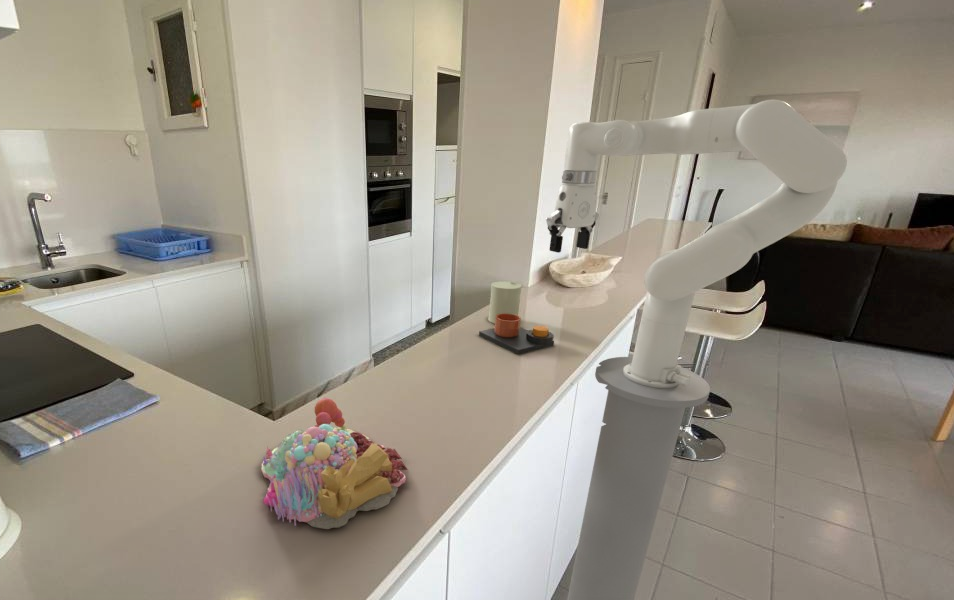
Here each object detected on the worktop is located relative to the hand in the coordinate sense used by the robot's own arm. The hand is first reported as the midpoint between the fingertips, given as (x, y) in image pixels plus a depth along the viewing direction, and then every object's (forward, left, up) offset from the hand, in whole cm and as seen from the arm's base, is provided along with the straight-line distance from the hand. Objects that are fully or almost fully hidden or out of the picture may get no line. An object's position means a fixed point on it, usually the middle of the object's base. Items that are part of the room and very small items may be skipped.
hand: (568, 249), depth 121 cm
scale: (+8, +7, -26) cm, 28 cm away
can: (+23, -2, -26) cm, 35 cm away
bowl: (+11, +8, -25) cm, 28 cm away
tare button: (+3, +3, -24) cm, 24 cm away
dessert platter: (-23, +77, -26) cm, 84 cm away
